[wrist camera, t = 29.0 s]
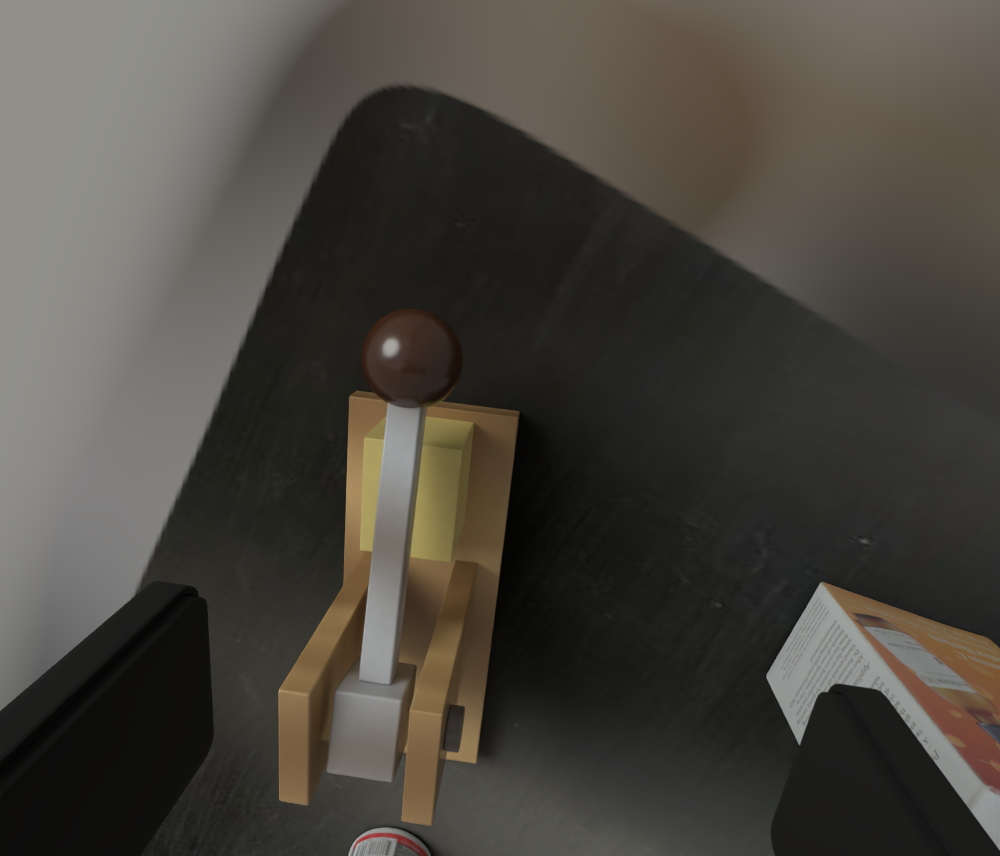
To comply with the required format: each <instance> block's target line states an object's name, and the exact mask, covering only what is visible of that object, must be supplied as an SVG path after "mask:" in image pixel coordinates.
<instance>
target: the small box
mask: <svg viewBox="0 0 1000 856" xmlns="http://www.w3.org/2000/svg"><path fill="white" fill-rule="evenodd" d="M766 678H767V680H768V682H769V684H770V686H771V688H772V690H773V692H774V694H775V696H776V698H777V700H778V702H779V704H780V706H781V708H782V711H783V713H784V715H785V717H786V719H787V721H788V723H789V725H790V727H791V729H792V731H793V733H794V735H795V737H796V739H797V741H798V743H799V745H800V743H801V740H802V737H803V734H804V731H805V729H806V726H807V723H808V720H809V717H810V715H811V712H812V709H813V706H814V703H815V701H816V698H817V696H818V695H819V694H820V693H821V692H828V690H829V688H830V687H831V686H832V685H834V684H846V685H852V686H859V687H866V688H872V689H877V690H879V691H881V692H882V693H883V694H884V695H885V696H886V697H887V698H888V700H889V701H890V702H891V704H892V705H893V706H894V708H895V709H896V710H897V712H898V713H899V714H900V716H901V717H902V719H903V720H904V721H905V723H906V724H907V725H908V727H909V728H910V729H911V731H912V732H913V733H914V735H915V736H916V737H917V739H918V740H919V742H920V743H921V744H922V746H923V747H924V748H925V750H926V751H927V752H928V754H929V755H930V756H931V758H932V759H933V760H934V762H935V763H936V765H937V766H938V767H939V769H940V770H941V771H942V773H943V774H944V775H945V777H946V778H947V779H948V781H949V782H950V784H951V785H952V786H953V788H954V789H955V790H956V792H957V793H958V794H959V796H960V797H961V798H962V800H963V801H964V802H965V804H966V805H967V807H968V808H969V809H970V811H971V812H972V813H973V815H974V816H975V817H976V819H977V820H978V821H979V823H980V824H981V826H982V827H983V828H984V830H985V831H986V832H987V834H988V835H989V836H990V838H991V839H992V840H993V842H994V843H995V844H996V846H997V847H998V849H999V850H1000V648H999V647H998V646H997V645H996V644H994V643H993V642H992V641H991V640H990V639H988V638H987V637H984V636H981V635H977V634H974V633H971V632H968V631H964V630H960V629H957V628H954V627H951V626H948V625H945V624H942V623H939V622H936V621H933V620H930V619H927V618H924V617H921V616H918V615H915V614H913V613H910V612H907V611H904V610H901V609H899V608H896V607H893V606H890V605H887V604H884V603H881V602H879V601H876V600H873V599H870V598H867V597H864V596H861V595H858V594H856V593H853V592H850V591H847V590H844V589H841V588H839V587H836V586H833V585H830V584H827V583H824V582H821V583H820V584H819V586H818V588H817V590H816V591H815V593H814V595H813V596H812V598H811V600H810V602H809V603H808V605H807V607H806V608H805V610H804V612H803V613H802V615H801V617H800V618H799V620H798V622H797V624H796V625H795V627H794V629H793V630H792V632H791V634H790V636H789V637H788V639H787V641H786V642H785V644H784V646H783V648H782V649H781V651H780V653H779V654H778V656H777V658H776V660H775V661H774V663H773V665H772V666H771V668H770V670H769V671H768V673H767V675H766Z"/></svg>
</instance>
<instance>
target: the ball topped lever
mask: <svg viewBox="0 0 1000 856" xmlns="http://www.w3.org/2000/svg"><path fill="white" fill-rule="evenodd" d="M361 366H362V371H363V374H364V377H365V379H366V381H367V383H368V385H369V387H370V388H371V389H372V391H373V392H374V393H375V394H376V395H377V396H378V397H379V398H381V399H382V400H383V401H385V402H386V403H388V405H387V414H386V424H385V433H384V443H383V452H382V462H381V471H380V481H379V490H378V500H377V509H376V519H375V528H374V538H373V547H372V557H371V566H370V576H369V585H368V595H367V604H366V614H365V623H364V633H363V642H362V651H361V656H358V657H356V659H355V660H354V662H353V664H352V665H351V667H350V668H349V670H348V671H347V673H346V675H345V676H344V678H343V679H342V681H341V682H340V684H339V686H338V687H337V689H336V690H335V693H334V702H333V712H332V722H331V732H330V742H329V751H328V761H327V772H328V773H333V774H339V775H345V776H352V777H358V778H364V779H371V780H377V781H383V782H390V783H391V782H393V781H394V778H395V776H396V773H397V770H398V767H399V764H400V761H401V758H402V756H403V753H404V750H405V747H406V744H407V740H408V727H409V713H410V708H411V704H412V701H413V697H414V688H415V680H416V671H417V666H416V665H415V664H408V663H402V662H398V661H399V652H400V643H401V634H402V625H403V616H404V607H405V598H406V590H407V581H408V572H409V563H410V554H411V545H412V536H413V527H414V518H415V509H416V500H417V491H418V482H419V473H420V464H421V455H422V446H423V437H424V428H425V419H426V410H427V408H428V407H431V406H434V405H436V404H438V403H439V402H441V401H442V400H444V399H445V398H446V397H447V396H448V395H449V394H450V393H451V392H452V391H453V389H454V388H455V386H456V385H457V383H458V381H459V379H460V375H461V372H462V367H463V353H462V348H461V345H460V342H459V339H458V337H457V335H456V334H455V332H454V331H453V329H452V328H451V327H450V326H449V325H448V323H446V322H445V321H444V320H443V319H442V318H440V317H439V316H437V315H435V314H433V313H431V312H428V311H425V310H421V309H412V308H409V309H401V310H397V311H394V312H391V313H389V314H387V315H385V316H384V317H382V318H381V319H379V320H378V321H377V322H376V323H375V324H374V325H373V326H372V328H371V329H370V330H369V332H368V334H367V335H366V338H365V340H364V343H363V346H362V351H361Z"/></svg>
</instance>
